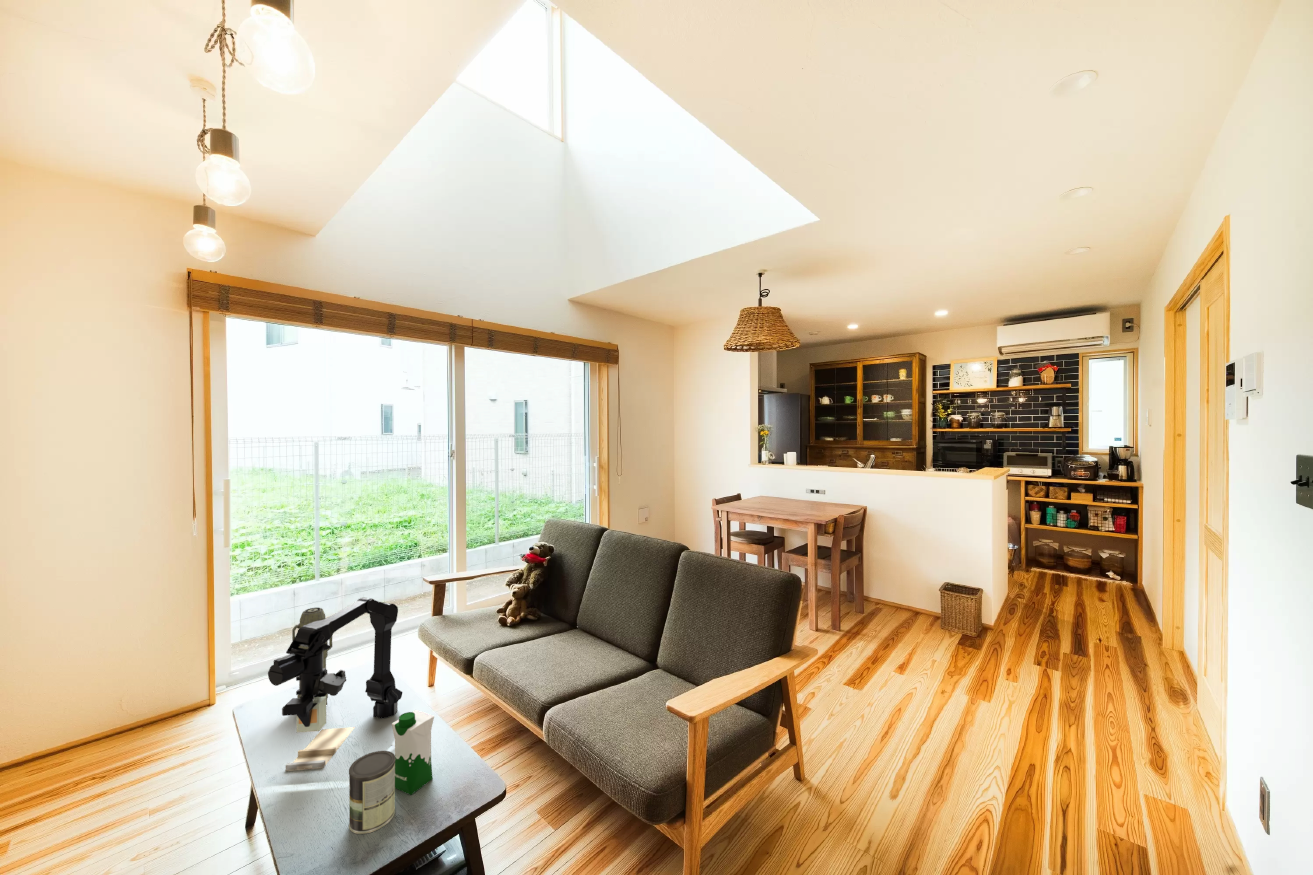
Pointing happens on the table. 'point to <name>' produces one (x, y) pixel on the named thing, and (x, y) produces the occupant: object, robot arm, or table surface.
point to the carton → (315, 717)
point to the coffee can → (371, 792)
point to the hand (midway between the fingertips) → (311, 722)
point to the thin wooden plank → (320, 749)
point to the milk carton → (412, 751)
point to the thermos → (305, 619)
